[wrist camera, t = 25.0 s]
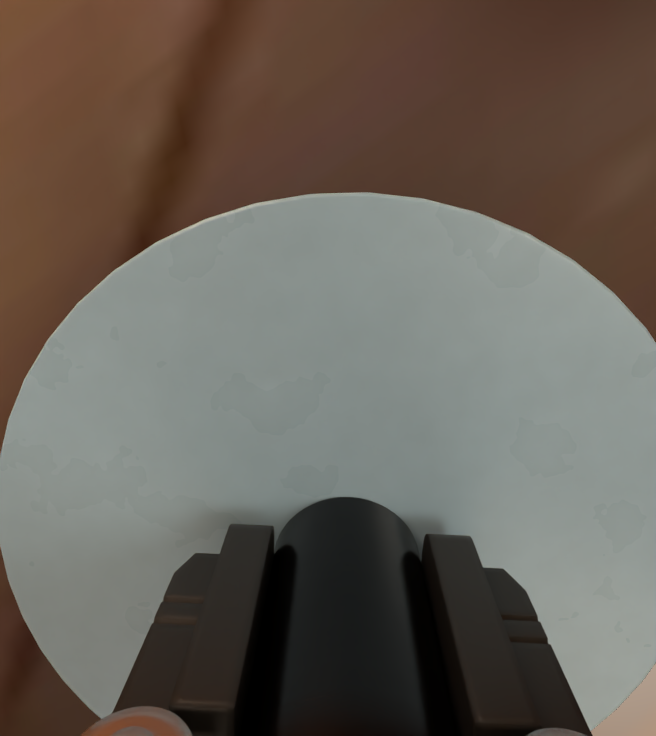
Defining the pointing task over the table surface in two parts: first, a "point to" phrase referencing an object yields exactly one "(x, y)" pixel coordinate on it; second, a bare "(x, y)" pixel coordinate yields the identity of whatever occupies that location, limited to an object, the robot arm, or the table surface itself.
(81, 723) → the table surface
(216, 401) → the lid
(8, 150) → the table surface
